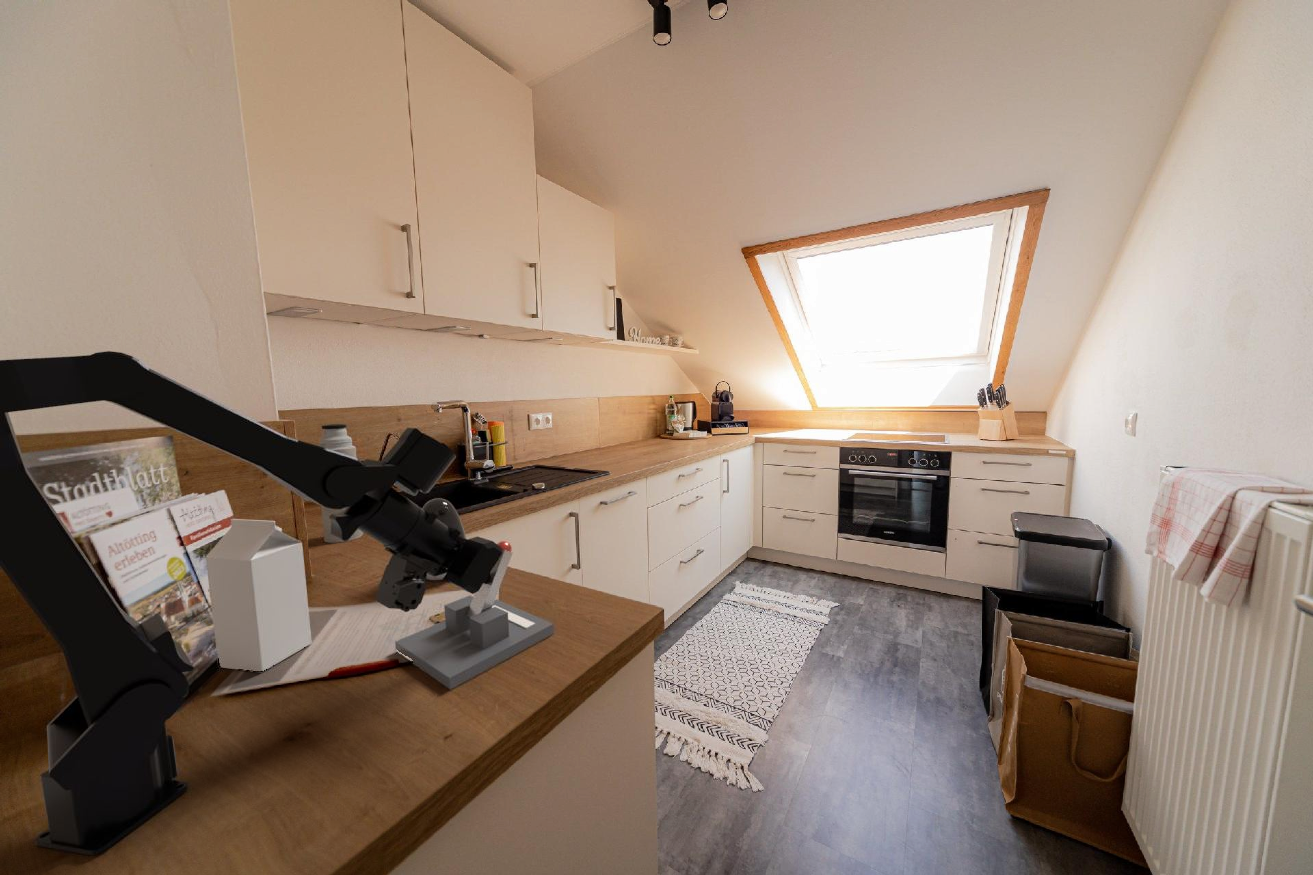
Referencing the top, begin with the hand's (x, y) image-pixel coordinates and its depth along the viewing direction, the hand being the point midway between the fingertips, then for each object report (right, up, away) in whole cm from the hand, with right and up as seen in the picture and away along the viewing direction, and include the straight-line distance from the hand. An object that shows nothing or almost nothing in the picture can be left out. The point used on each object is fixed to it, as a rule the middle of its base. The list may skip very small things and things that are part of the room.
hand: (486, 580), depth 68 cm
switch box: (-1, -9, -1) cm, 9 cm away
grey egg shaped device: (-17, -7, +24) cm, 30 cm away
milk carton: (-29, -10, -3) cm, 31 cm away
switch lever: (-1, -5, -1) cm, 5 cm away
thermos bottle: (-53, -4, +49) cm, 72 cm away
